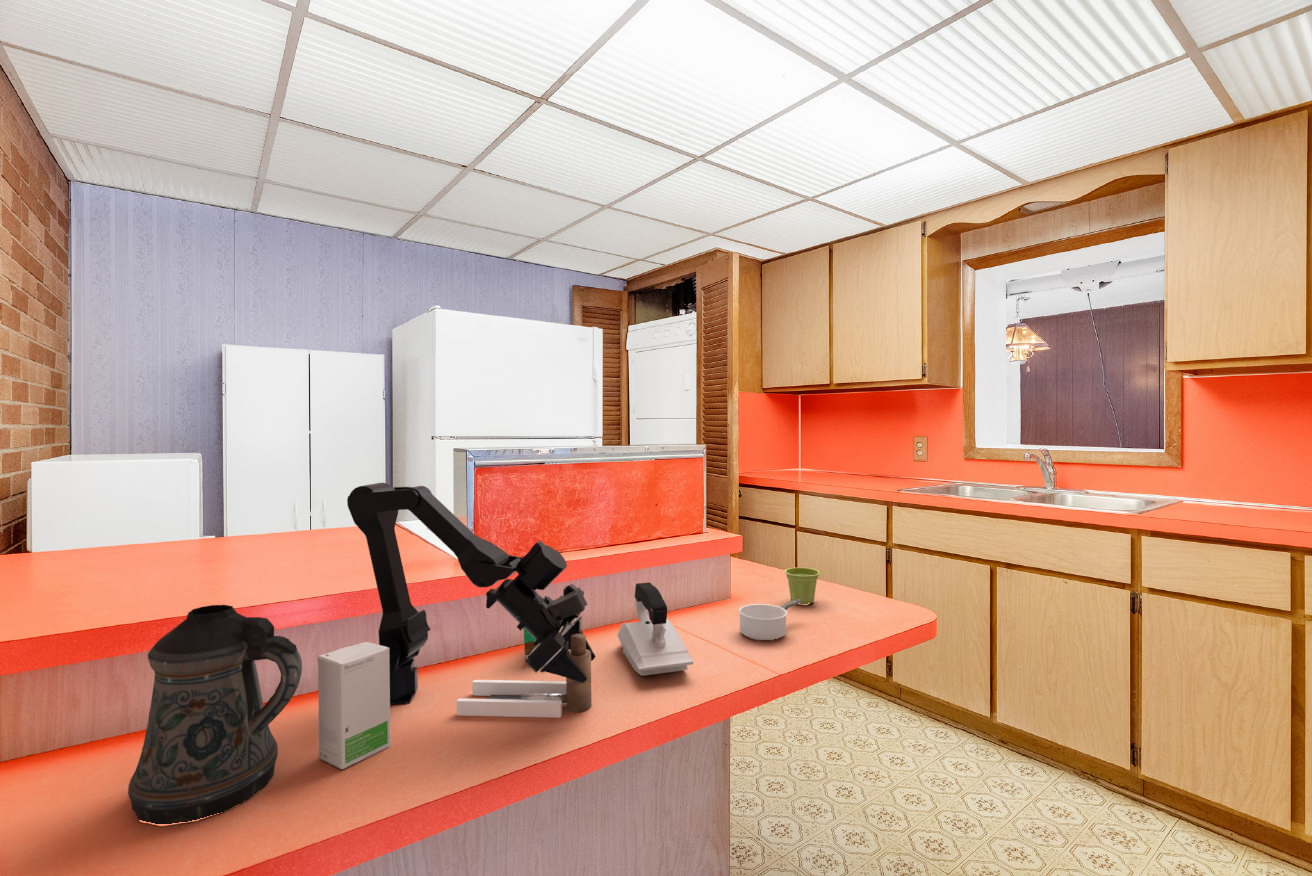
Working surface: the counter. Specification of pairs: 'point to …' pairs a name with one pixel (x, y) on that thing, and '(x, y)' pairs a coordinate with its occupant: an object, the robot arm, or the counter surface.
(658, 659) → the iron
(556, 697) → the rod
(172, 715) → the beer stein
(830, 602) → the counter surface
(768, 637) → the saucepan
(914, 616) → the counter surface
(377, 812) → the counter surface
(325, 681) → the skincare box
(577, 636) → the walnut skittle
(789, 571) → the plant pot
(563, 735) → the counter surface
